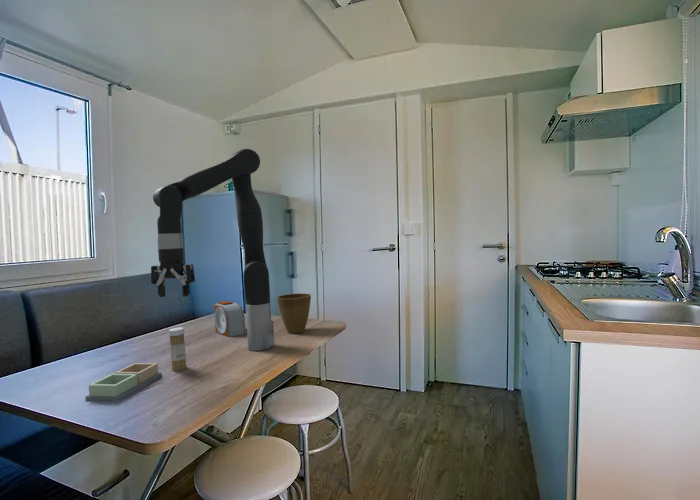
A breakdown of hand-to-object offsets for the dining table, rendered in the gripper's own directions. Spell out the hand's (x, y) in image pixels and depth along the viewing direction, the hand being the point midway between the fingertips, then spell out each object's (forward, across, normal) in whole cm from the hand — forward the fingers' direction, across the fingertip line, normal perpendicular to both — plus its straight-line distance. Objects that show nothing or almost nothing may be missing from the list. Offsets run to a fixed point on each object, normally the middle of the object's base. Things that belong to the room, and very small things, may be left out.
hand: (174, 296), depth 123 cm
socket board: (+24, +7, +15) cm, 29 cm away
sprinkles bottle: (+24, 0, 0) cm, 24 cm away
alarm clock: (+24, +5, -45) cm, 51 cm away
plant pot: (+24, -26, -46) cm, 58 cm away
